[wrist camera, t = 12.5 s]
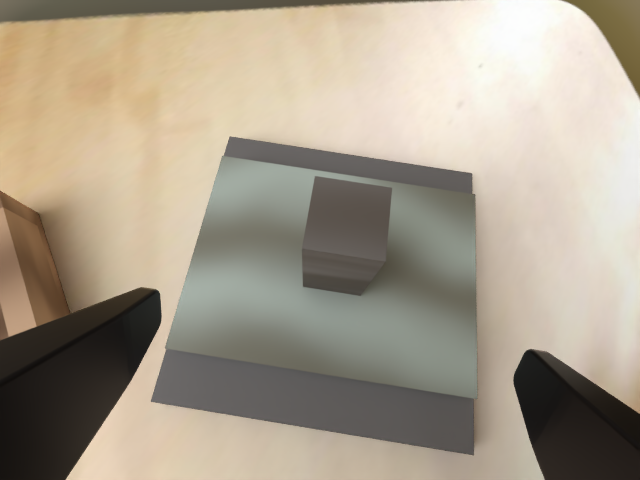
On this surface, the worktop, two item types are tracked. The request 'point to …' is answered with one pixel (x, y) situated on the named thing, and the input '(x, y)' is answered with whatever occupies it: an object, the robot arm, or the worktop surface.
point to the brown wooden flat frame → (26, 271)
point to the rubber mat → (313, 388)
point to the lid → (334, 278)
